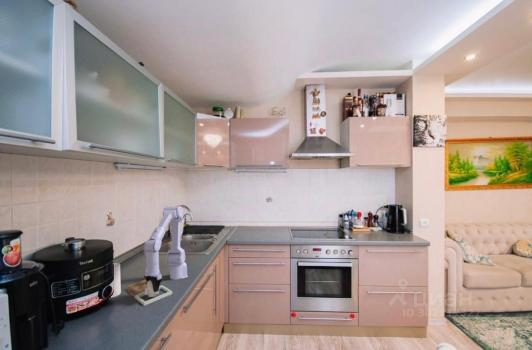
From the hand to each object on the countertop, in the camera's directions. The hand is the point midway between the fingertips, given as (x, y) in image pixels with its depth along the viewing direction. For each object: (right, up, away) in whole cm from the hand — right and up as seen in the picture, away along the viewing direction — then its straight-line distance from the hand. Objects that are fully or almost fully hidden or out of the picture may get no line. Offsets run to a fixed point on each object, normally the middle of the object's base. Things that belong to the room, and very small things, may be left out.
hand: (153, 289), depth 122 cm
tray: (0, -4, 0) cm, 4 cm away
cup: (-24, -5, +3) cm, 24 cm away
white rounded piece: (0, -2, 0) cm, 2 cm away
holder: (-10, -5, +9) cm, 14 cm away
